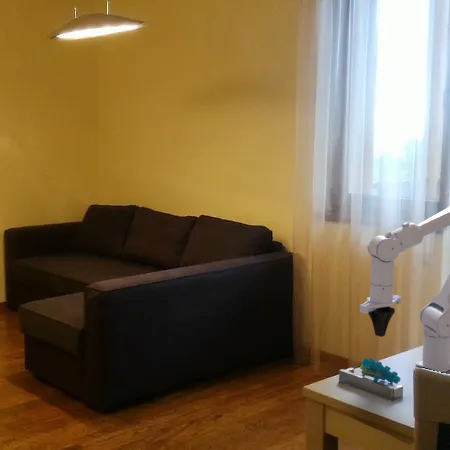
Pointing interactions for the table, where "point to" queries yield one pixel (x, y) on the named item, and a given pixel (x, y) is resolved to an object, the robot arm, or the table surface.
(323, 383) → the table surface
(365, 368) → the gear
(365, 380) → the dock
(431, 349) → the robot arm
